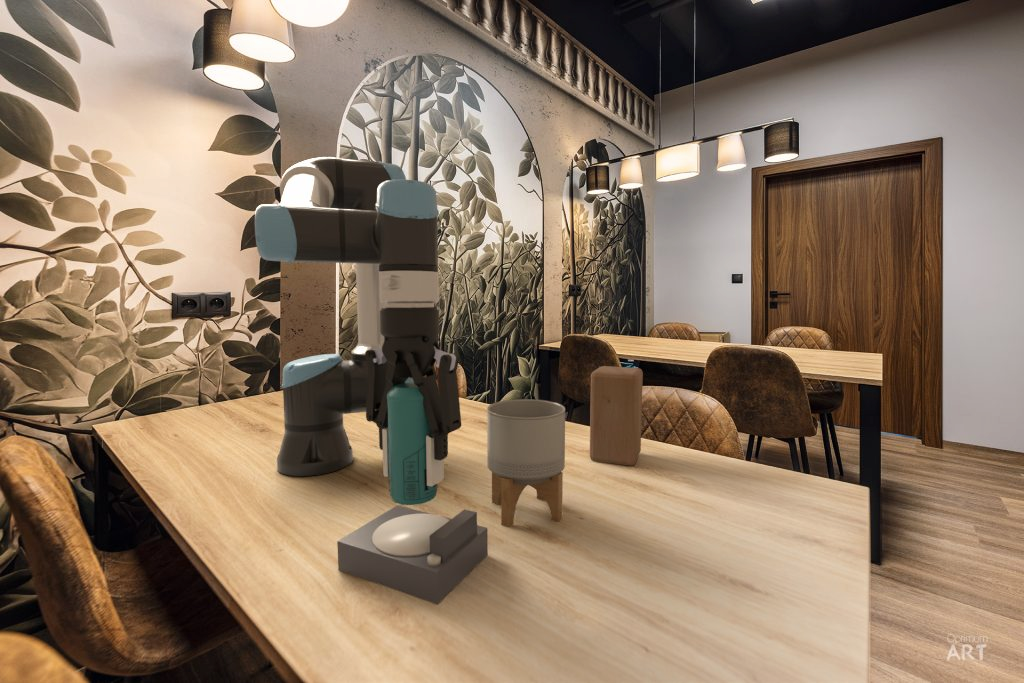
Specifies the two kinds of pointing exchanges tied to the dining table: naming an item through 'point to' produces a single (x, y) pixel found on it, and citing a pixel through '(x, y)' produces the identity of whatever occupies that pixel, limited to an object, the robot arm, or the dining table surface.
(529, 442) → the planter
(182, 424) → the dining table surface
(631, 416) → the wooden block
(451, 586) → the domed button base
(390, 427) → the beverage bottle
